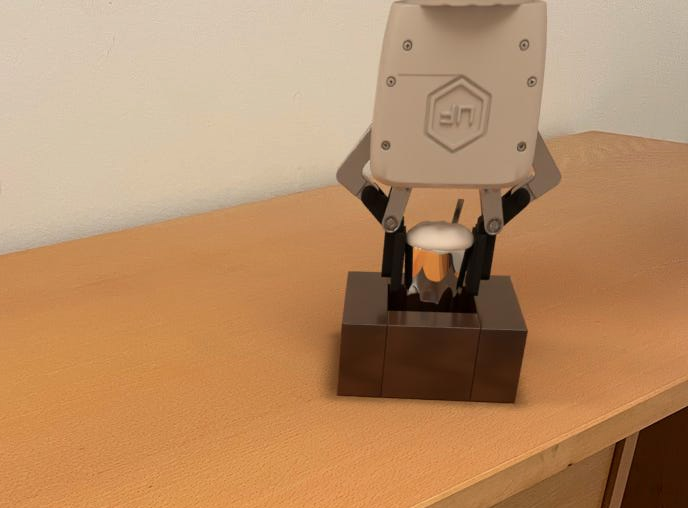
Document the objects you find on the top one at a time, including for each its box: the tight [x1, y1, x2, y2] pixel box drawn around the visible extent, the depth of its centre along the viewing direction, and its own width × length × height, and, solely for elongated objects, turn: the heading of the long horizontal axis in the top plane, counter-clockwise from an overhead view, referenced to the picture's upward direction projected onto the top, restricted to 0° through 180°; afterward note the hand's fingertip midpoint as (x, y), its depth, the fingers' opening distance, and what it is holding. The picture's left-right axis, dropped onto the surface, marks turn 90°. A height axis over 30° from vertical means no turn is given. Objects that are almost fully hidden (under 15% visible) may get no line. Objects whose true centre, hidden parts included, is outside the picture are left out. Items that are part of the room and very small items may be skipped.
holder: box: [336, 270, 529, 404], centre depth 70 cm, size 12×12×5 cm
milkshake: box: [403, 198, 474, 313], centre depth 68 cm, size 5×5×10 cm
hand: (433, 286), depth 68 cm, fingers closed on milkshake, 4 cm apart
